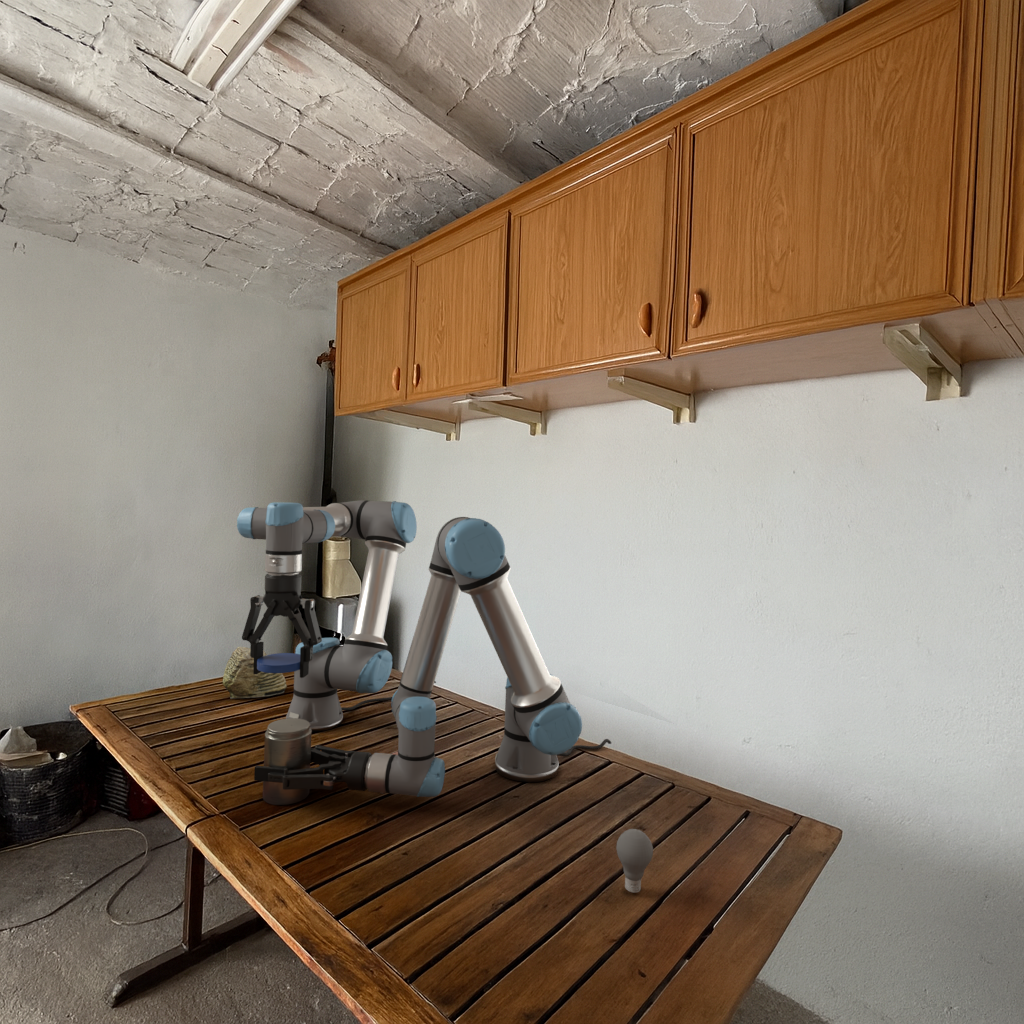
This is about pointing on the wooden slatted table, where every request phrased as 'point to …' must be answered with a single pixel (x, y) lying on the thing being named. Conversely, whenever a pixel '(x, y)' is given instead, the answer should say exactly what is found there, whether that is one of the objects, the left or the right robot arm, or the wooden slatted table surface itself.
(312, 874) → the wooden slatted table surface
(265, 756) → the jar
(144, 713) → the wooden slatted table surface
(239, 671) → the fossil
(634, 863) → the light bulb
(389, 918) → the wooden slatted table surface
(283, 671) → the lid
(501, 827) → the wooden slatted table surface
